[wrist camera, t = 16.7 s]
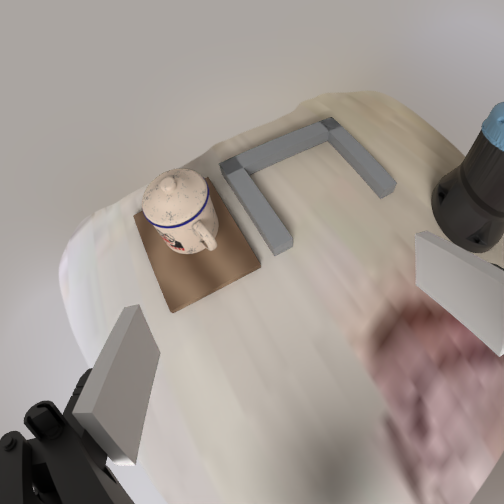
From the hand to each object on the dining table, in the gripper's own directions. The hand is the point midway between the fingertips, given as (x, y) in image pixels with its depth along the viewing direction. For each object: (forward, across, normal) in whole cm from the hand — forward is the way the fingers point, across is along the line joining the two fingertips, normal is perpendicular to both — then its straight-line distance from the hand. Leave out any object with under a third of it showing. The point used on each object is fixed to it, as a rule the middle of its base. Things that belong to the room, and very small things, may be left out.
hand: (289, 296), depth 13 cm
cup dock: (+38, +11, -1) cm, 40 cm away
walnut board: (+34, -9, -5) cm, 35 cm away
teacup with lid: (+33, -8, -5) cm, 34 cm away
